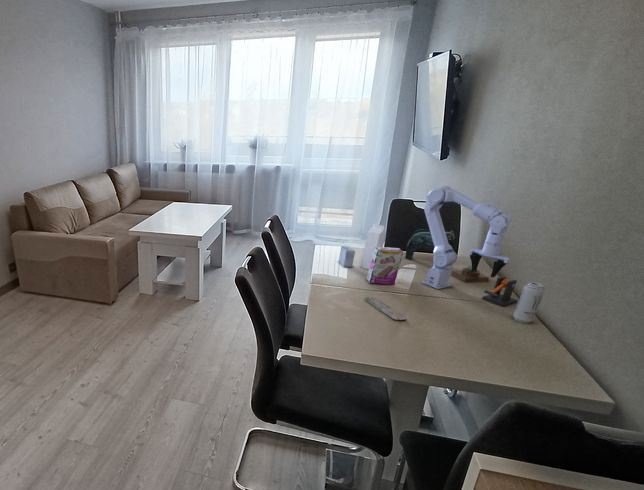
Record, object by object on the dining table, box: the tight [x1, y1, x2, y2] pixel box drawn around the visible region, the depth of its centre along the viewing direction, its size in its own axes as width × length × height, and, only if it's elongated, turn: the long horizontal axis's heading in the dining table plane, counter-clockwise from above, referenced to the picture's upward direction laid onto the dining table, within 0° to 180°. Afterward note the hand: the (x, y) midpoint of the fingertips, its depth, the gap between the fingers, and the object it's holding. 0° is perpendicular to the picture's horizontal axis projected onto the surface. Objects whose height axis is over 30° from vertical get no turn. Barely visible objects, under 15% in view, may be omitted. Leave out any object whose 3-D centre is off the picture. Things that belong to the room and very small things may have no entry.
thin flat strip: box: [365, 296, 406, 321], centre depth 164 cm, size 5×20×1 cm, turn 11°
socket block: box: [450, 267, 490, 283], centre depth 196 cm, size 12×9×4 cm
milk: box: [360, 223, 387, 271], centre depth 202 cm, size 6×6×22 cm
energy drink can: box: [512, 281, 546, 324], centre depth 155 cm, size 6×6×15 cm
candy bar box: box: [366, 246, 404, 286], centre depth 186 cm, size 11×5×16 cm, turn 84°
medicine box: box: [338, 245, 356, 268], centre depth 208 cm, size 8×4×9 cm, turn 179°
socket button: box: [466, 265, 478, 272], centre depth 195 cm, size 4×4×2 cm
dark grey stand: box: [482, 276, 518, 308], centre depth 172 cm, size 10×8×10 cm
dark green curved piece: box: [404, 228, 456, 260], centre depth 213 cm, size 20×6×20 cm, turn 58°
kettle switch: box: [483, 278, 512, 297], centre depth 170 cm, size 11×5×2 cm, turn 115°
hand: (483, 273), depth 173 cm, fingers open, 7 cm apart
